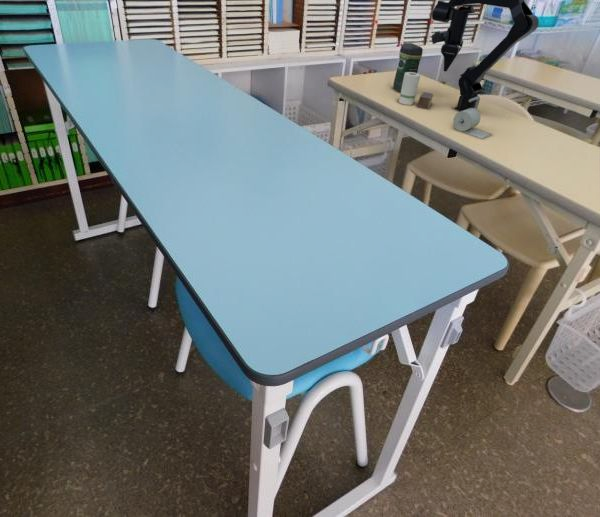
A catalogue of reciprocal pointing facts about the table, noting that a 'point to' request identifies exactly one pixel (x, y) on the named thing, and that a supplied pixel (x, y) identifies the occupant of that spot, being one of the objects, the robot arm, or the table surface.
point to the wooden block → (425, 100)
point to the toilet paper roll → (469, 120)
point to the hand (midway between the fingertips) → (446, 68)
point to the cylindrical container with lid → (409, 88)
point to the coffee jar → (407, 62)
